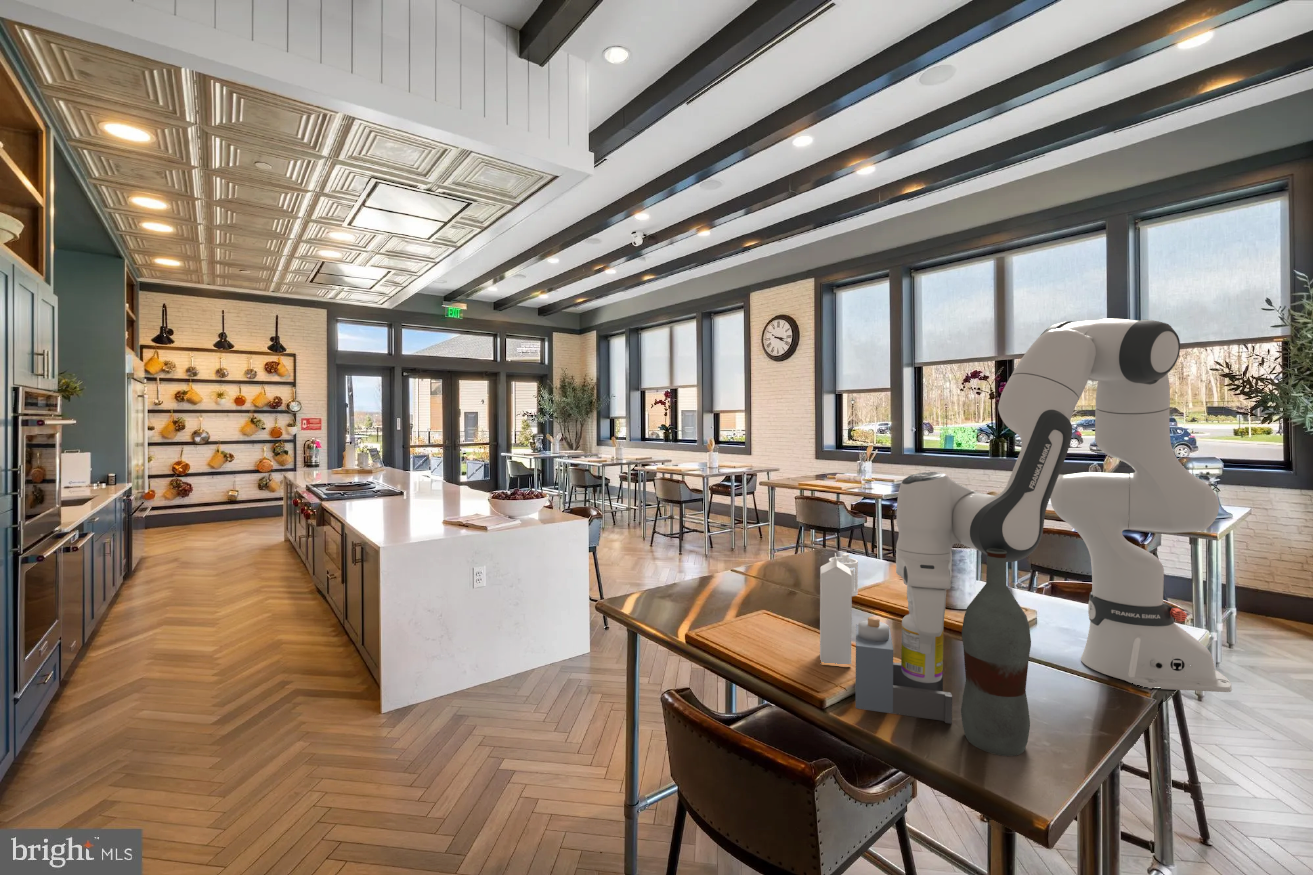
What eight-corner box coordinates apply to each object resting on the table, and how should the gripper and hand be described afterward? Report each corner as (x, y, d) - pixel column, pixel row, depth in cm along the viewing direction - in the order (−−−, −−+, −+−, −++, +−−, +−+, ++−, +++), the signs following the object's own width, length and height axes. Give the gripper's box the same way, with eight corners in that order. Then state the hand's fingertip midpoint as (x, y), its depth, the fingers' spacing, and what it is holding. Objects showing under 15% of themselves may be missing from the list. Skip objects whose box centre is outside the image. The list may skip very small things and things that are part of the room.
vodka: (962, 750, 90) (964, 554, 88) (958, 721, 98) (960, 541, 97) (1035, 764, 86) (1038, 559, 85) (1024, 732, 94) (1027, 546, 93)
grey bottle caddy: (939, 683, 112) (940, 609, 111) (951, 723, 97) (952, 638, 97) (855, 673, 116) (856, 601, 116) (855, 709, 102) (856, 628, 101)
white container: (860, 612, 152) (860, 554, 152) (853, 620, 146) (854, 560, 146) (833, 607, 156) (833, 551, 156) (825, 615, 150) (825, 556, 150)
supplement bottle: (933, 668, 107) (935, 598, 106) (948, 685, 100) (950, 610, 99) (895, 666, 107) (897, 597, 107) (907, 683, 101) (909, 609, 100)
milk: (820, 665, 120) (820, 558, 119) (819, 654, 126) (819, 551, 125) (852, 668, 119) (852, 559, 118) (849, 656, 124) (849, 552, 124)
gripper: (899, 551, 114) (898, 623, 114) (908, 578, 94) (907, 664, 95) (935, 554, 112) (934, 626, 112) (952, 581, 92) (951, 669, 93)
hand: (922, 644), depth 103 cm, fingers closed on supplement bottle, 7 cm apart
